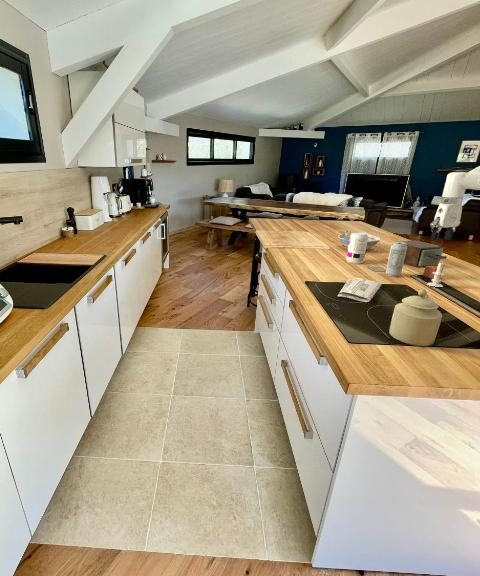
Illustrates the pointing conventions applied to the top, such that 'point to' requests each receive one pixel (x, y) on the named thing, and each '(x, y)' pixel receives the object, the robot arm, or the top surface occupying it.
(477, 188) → the robot arm
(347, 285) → the newspaper
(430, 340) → the sugar bowl
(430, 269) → the block
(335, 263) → the top surface
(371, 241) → the ramen bowl
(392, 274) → the energy drink can
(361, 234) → the supplement can
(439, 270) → the white tapered tower
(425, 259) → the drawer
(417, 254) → the cabinet
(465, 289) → the top surface
